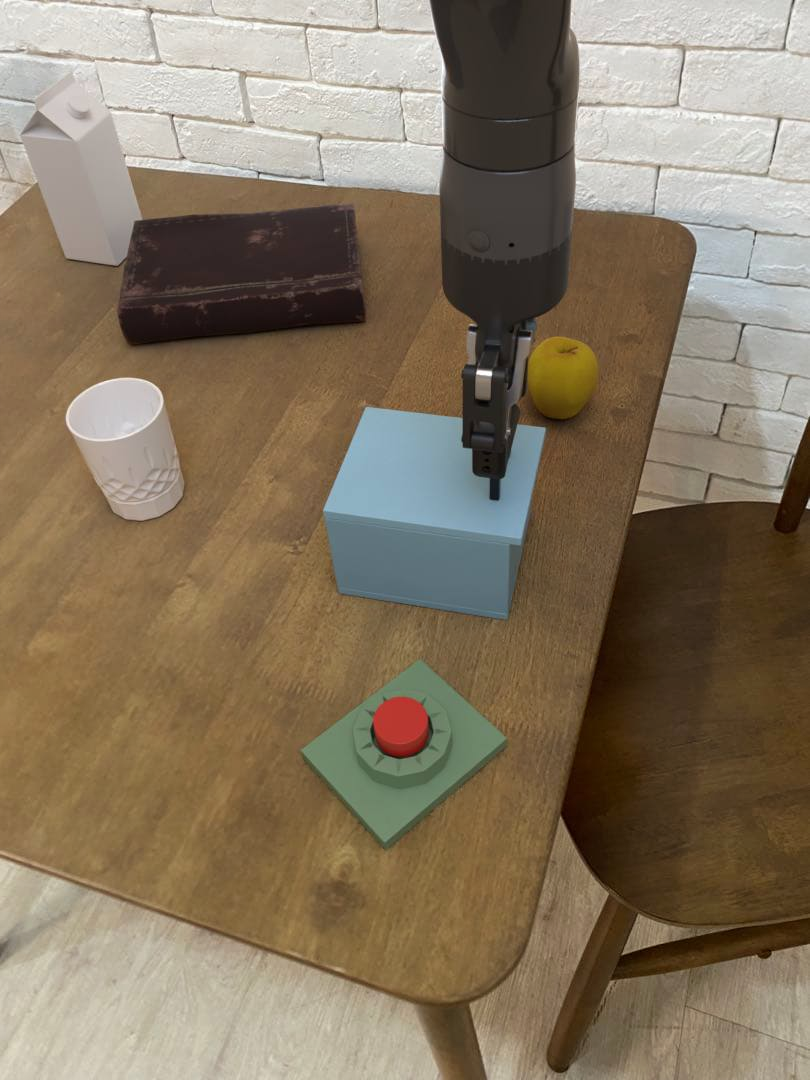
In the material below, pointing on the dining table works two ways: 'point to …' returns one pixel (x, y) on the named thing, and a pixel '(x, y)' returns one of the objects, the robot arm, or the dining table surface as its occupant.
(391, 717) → the button
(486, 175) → the robot arm
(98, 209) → the milk carton
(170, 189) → the dining table surface
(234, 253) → the diary
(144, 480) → the white cup
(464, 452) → the lid
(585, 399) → the apple
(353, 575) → the box
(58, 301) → the dining table surface
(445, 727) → the green button base
